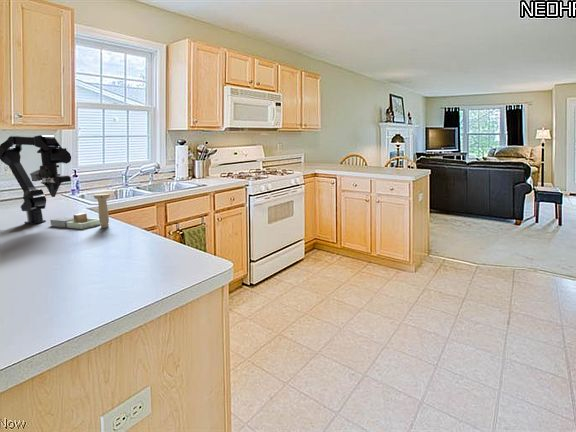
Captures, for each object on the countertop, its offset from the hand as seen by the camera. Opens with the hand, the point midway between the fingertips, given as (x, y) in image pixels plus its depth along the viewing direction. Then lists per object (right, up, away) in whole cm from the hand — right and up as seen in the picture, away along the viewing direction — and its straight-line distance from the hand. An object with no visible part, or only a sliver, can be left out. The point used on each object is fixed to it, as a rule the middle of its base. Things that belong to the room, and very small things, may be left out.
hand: (53, 196), depth 183 cm
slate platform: (+5, -13, 0) cm, 14 cm away
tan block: (+13, -10, -2) cm, 16 cm away
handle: (+26, -14, -5) cm, 30 cm away
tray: (+15, -14, -2) cm, 21 cm away
